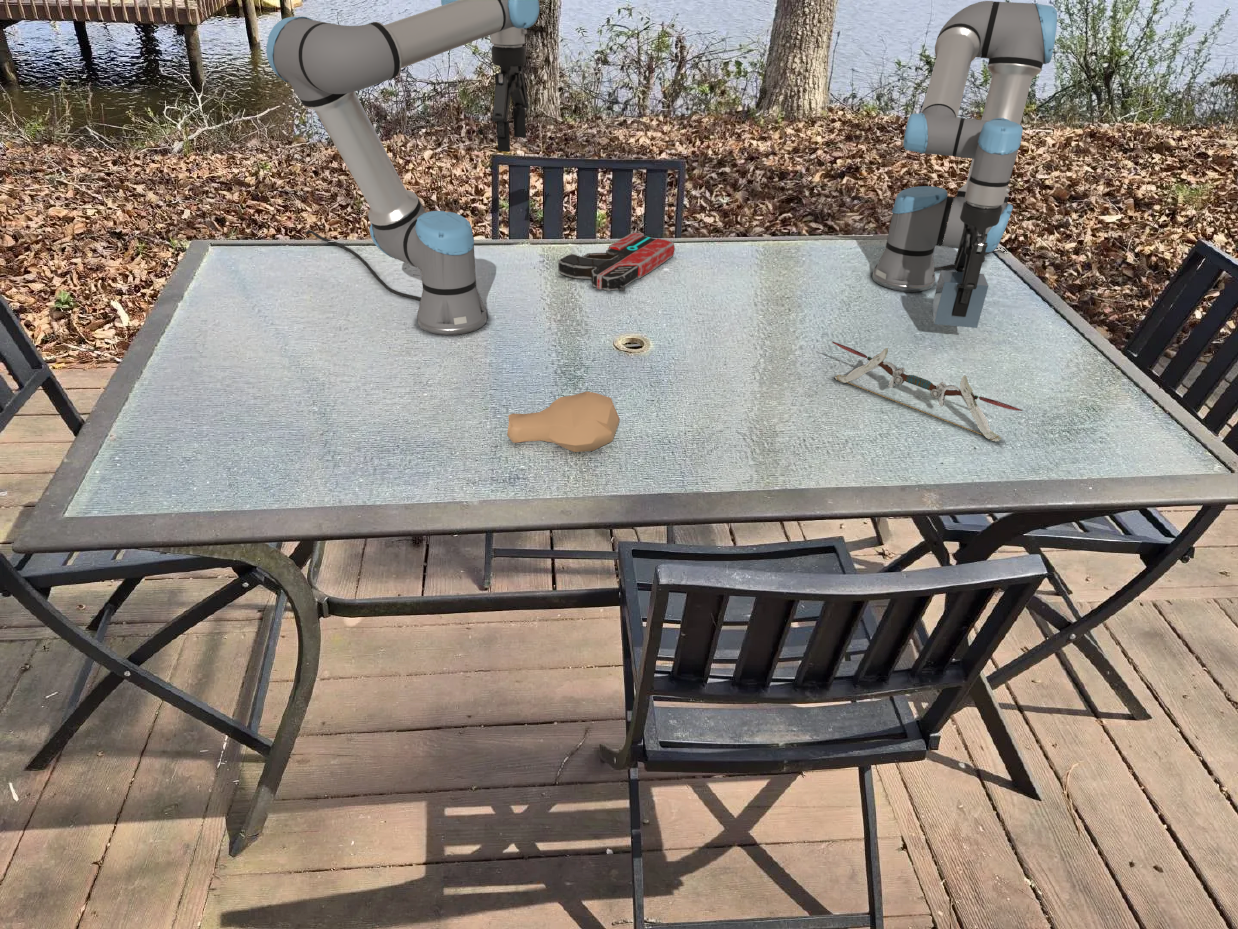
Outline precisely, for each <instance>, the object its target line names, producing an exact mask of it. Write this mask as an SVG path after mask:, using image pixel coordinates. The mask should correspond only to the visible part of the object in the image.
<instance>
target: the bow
mask: <svg viewBox="0 0 1238 929" xmlns="http://www.w3.org/2000/svg"><path fill="white" fill-rule="evenodd" d="M831 343H832V344H833V345H835V346H838V347H839V348H841V349H842V350H844V351H846V352H848V353H851V354H853V355H856V356H858V357H861V358H863V359H866V360H867V361H868V362H867V363H865V364H862V365H861V366H859V367H856V368H855V369H853V370H851V371H850V372H849V373H847V375H845V374H842V375H841V374H836V375H834V379H835V381H838V382H840V383H846V384H849V385H852V386H854V387H857V388H860V389H862V390H865V391H867V392H869V393H873V394H874V395H878V396H880V397H882V398H885V399H888V400H891V401H893V402H895V403H897V404H901V405H903V406H906V407H907V408H908V407H909V408H911V409H913V410H917V411H919V412H920V413H924V414H926V415H929V416H931V417H935V418H937V419H939V420H942V421H944V422H947V423H950V424H953V425H955V426H956V427H957V426H958V427H960V428H963V429H966V430H968V431H970V432H973V433H976V434H978V435H981V436H983V437H985V438H986V439H987V440H990V441H992V442H995V443H996V442H1000V440H1002V437H1001V436H1000V435H998V434H997V433H995V432H994V431H993V430H991V427H990V425H989V422H988V419H987V418H986V416H985V414H984V413H983V411H982V409H981V408H980V406H979V404H978V403H977V401H976V400H978V399H979V400H980V401H982V402H984V403H988V404H990V405H993V406H995V407H1001V408H1003V409H1008V410H1012V411H1018V412H1023V409H1021V408H1018V407H1016V406H1013V405H1010V404H1007V403H1004V402H1002V401H998V400H995V399H991V398H988V397H985V396H978V395H977V394H975V393H974V390H973V388H972V387H971V385H970V384H969V382H968V381H969V380H968V376H967V375H963V376H962V377H961V380H960V384H959V387H958V386H956V385H954V384H949V385H947V384H946V383H944V381H941V382H940V383H939V384H937V385H935V384H933V382H931V381H930V380H928V379H925V378H923V377H921V376H918V375H915V374H906V373H905V371H906V369H905V367H899V368H898V367H897V365H895V364H894V363H892V362H889V361H885V359H886V358H887V357H888V351H889V348H888V347H886V348H884V349H883V350H882V351H881V352H880V353H879V354H876V355H875V356H873V357H871V356H867V354H864V353H863V352H860V351H858V350H856V349H853V348H852V347H849V346H846V345H843V344H841V343H838V342H836V341H831ZM878 368H882V369H883V370H884V371H885V372H886V373H887V374H889V375H890V376H891V379H890V381H889V384H888V385H887V387H888V388H891V389H893V388H894V387H896V384H897V385H899V386H901V385H902V384H904V382H905V383H908V384H910V385H913V386H916V387H919V388H921V389H923V390H926V391H930V396H931V397H932V398H934V399H938V405H937V406H939V407H941V408H943V407H944V406H945V405H946V397H947V396H948V397H954V396H956V397H957V396H958V397H961V399H962V400H963V401H964V403H965V404H966V406H967V408H968V410H969V411H970V414H971V417H972V419H973V420H974V422H975V423H976V426H977V427H978V429H979V430H980V432H978V431H976V430H973V429H971V428H968V427H966V426H963V425H960V424H958V423H955V422H953V421H950V420H947V419H944V418H943V417H939V416H937V415H935V414H932V413H929V412H927V411H923V410H922V409H919V408H916V407H913V406H911V405H909V404H906V403H903V402H901V401H898V400H895V399H892V398H890V397H888V396H884V395H883V394H880V393H878V392H875V391H873V390H870V389H867V388H864V387H862V386H860V385H856V384H854V383H851V382H852V381H854V380H858V379H859V378H860V377H862V376H864V375H866V374H867V373H869V372H870V371H873V370H875V369H878Z"/></svg>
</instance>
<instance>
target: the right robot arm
mask: <svg viewBox="0 0 1238 929" xmlns="http://www.w3.org/2000/svg"><path fill="white" fill-rule="evenodd" d="M1057 25H1058V11H1057V9H1056V7H1054V6H1052V5H1048V4H1041V3H1037V2H1035V3H1033V2H1010V1H994V0H982V1H978V2H975V3H972V4H969V5H967V6H966V7H964V8H962V9H961V10H959V11H958V12H956V13H955V14H954V15H953V16H951V17H950V18H949V20H948V21H947V22H945V24H944V25H943V27H942V28H941V30H940V31H939V33H938V35H937V38H936V41H935V45H934V55H935V61H934V66H933V68H932V72H931V75H930V78H929V83H928V86H927V90H926V94H925V98H924V100H923V104H922V107H921V111H920V112H919V113H914V112H913V113H911V114H910V115H909V116H908V119H907V122H906V127H905V131H904V137H903V148H904V150H906V151H908V152H915V153H919V154H921V155H923V154H926V155H938V156H945V157H954V158H963V159H971V162H970V166H969V170H968V175H967V179H966V183H965V184H964V185H962V186H961V187H960V188H959V189H957V192H956V196H955V197H954V196H953V197H952V196H948V195H949V194H948V191H947V189H946V188H944V187H938V186H933V185H920V186H913V187H908V188H905V189H903V190H901V191H900V192H899V193H898V194H896V197H895V200H894V205H893V207H892V209H891V212H892V214H891V220H890V224H889V229H888V235H887V240H886V244H885V248H884V250H883V252H882V253H881V256H880V258H879V260H878V263H877V264H876V265H875V266H874V268H873V272H872V275H871V276H872V281H873V282H875V283H876V284H878V285H880V286H881V287H884V288H886V289H889V290H893V291H897V292H898V291H899V292H905V293H906V292H907V293H918V292H925V291H928V290H930V289H932V288H933V287H934V285H935V282H936V272H938V271H941V270H944V271H946V270H949V269H954V271H956V272H963V277H962V282H961V285H957V288H959V289H958V293H957V296H956V300H955V304H954V308H953V312H952V316H962V317H966V313H967V309H968V306H969V302H970V298H971V294H972V291H973V289H976V288H977V283H978V278H979V274H981V269H982V267H983V266H982V265H983V263H985V260H986V256H988V255H990V254H992V253H995V252H996V251H994V250H995V249H998V246H999V244H1000V242H1001V240H1002V238H1003V235H1004V233H1005V231H1006V228H1007V225H1008V223H1009V221H1010V219H1011V215H1012V212H1013V209H1014V206H1013V204H1011V203H1008V202H1009V199H1010V198H1009V197H1010V195H1009V193H1010V191H1011V188H1010V187H1009V184H1010V182H1011V180H1010V179H1011V176H1012V173H1013V170H1014V167H1015V163H1016V159H1017V156H1018V152H1019V149H1020V147H1021V144H1022V136H1023V132H1024V129H1023V126H1022V125H1021V123H1022V119H1023V115H1024V111H1025V107H1026V104H1027V99H1028V96H1029V92H1030V88H1031V83H1032V80H1033V78H1035V77H1036V76H1037V75H1039V74H1040V73H1042V70H1043V65H1048V64H1049V63H1050V62H1051V61H1052V59H1053V53H1054V47H1055V44H1056V35H1057ZM975 58H981V59H988V62H987V65H986V66H987V67H986V68H987V69H988V71H989V73H990V74H991V79H990V84H989V88H988V92H987V95H986V101H985V105H984V108H983V112H982V117H981V119H975V118H965V117H958V116H959V112H960V107H961V104H962V102H963V101H962V100H963V97H964V93H965V88H966V84H967V80H968V76H969V73H970V68H971V65H972V63H973V61H974V60H975ZM936 246H938V247H944V248H950V249H957V252H956V256H955V259H954V262H953V263H952V264H947V265H942V266H935V262H934V261H935V260H934V252H935V248H936ZM999 248H1000V249H1001V248H1003V249H1004V250H1005V251H1006V252H1008V250H1007V249H1006V248H1004V247H1002V246H1001V247H999ZM1005 251H1003V252H1005ZM1003 252H1002V253H1003ZM1007 254H1008V253H1006V255H1007Z"/></svg>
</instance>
